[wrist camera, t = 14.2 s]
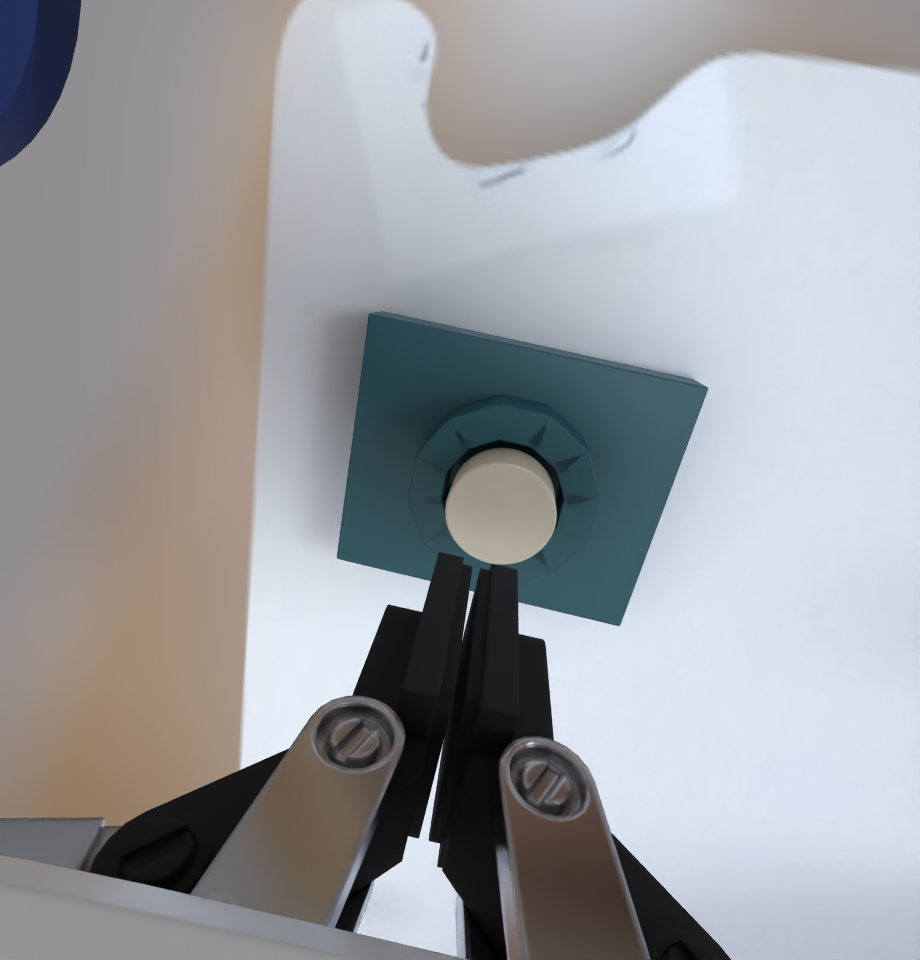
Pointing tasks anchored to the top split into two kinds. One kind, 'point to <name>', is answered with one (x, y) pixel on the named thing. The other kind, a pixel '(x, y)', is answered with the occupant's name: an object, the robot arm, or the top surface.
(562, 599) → the block
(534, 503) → the button
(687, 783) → the top surface
